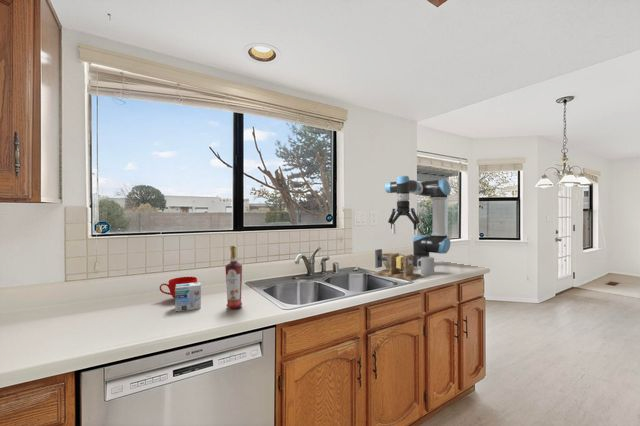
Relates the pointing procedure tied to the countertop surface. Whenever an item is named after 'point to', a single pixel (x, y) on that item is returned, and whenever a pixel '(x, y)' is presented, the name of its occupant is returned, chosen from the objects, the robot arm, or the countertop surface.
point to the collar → (399, 262)
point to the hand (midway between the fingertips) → (403, 234)
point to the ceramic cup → (177, 281)
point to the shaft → (384, 259)
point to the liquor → (233, 280)
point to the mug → (426, 265)
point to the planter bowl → (388, 261)
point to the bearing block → (395, 272)
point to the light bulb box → (187, 296)
